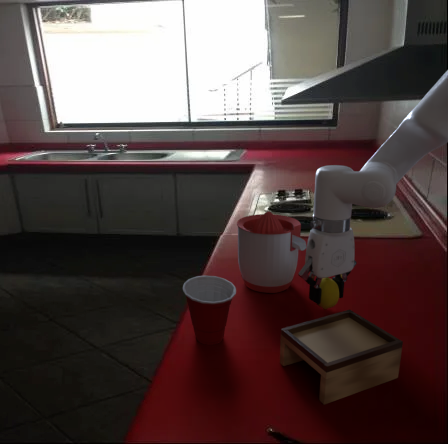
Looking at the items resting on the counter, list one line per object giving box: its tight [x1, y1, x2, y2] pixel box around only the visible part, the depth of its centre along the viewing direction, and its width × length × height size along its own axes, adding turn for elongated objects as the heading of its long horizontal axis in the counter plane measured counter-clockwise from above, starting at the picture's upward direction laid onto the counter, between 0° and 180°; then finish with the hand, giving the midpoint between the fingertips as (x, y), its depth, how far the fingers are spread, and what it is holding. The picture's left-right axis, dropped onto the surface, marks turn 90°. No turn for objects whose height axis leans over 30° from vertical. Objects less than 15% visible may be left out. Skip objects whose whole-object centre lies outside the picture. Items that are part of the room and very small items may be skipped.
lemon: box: [316, 277, 340, 310], centre depth 95 cm, size 6×6×8 cm
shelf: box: [279, 309, 404, 405], centre depth 75 cm, size 16×12×7 cm
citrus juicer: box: [236, 210, 307, 294], centre depth 106 cm, size 16×17×20 cm
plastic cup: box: [182, 275, 237, 346], centre depth 86 cm, size 11×11×12 cm
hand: (325, 297), depth 95 cm, fingers closed on lemon, 5 cm apart
